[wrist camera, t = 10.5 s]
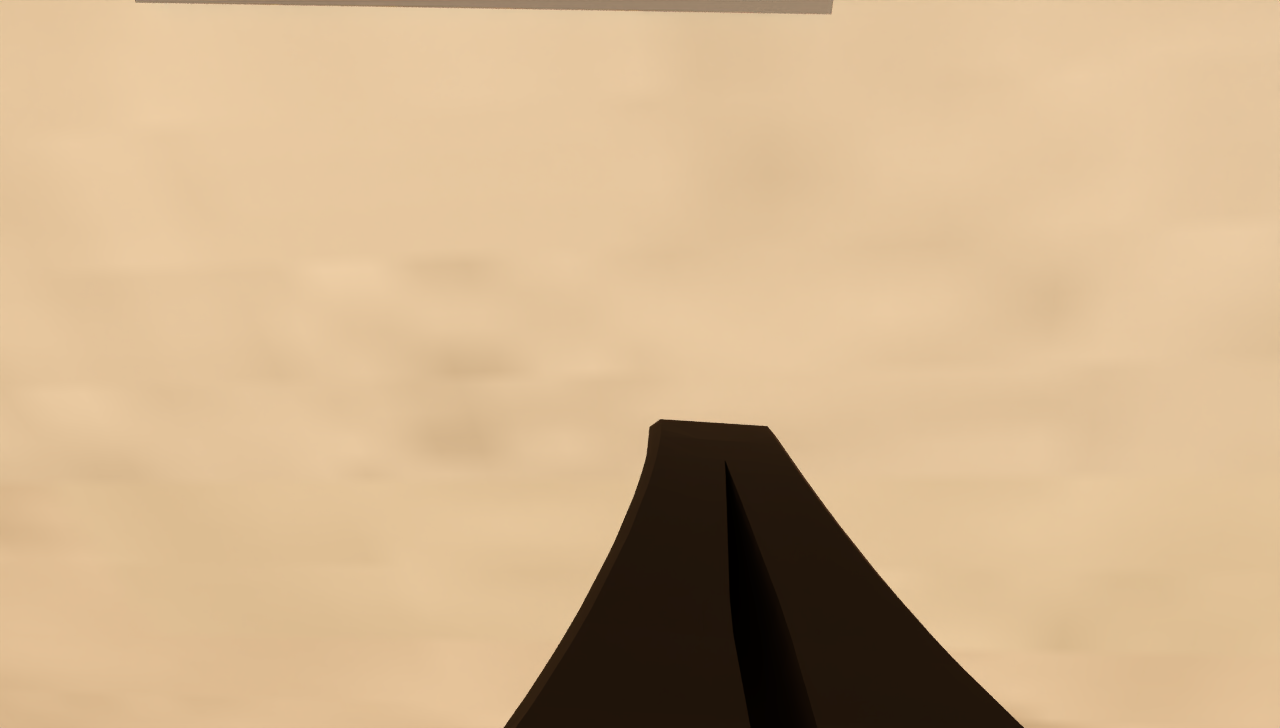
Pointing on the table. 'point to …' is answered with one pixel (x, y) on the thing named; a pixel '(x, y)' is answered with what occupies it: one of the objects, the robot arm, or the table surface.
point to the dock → (565, 4)
